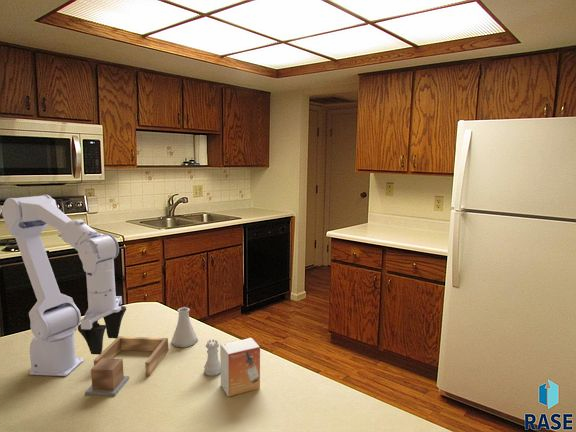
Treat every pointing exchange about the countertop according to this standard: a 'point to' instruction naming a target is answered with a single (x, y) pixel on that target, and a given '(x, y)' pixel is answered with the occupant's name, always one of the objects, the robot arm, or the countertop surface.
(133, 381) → the countertop surface
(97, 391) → the slate coaster
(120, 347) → the oak bracket
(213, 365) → the rook chess piece
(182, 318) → the flask
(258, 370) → the small box
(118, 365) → the walnut block
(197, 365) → the countertop surface
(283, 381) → the countertop surface
